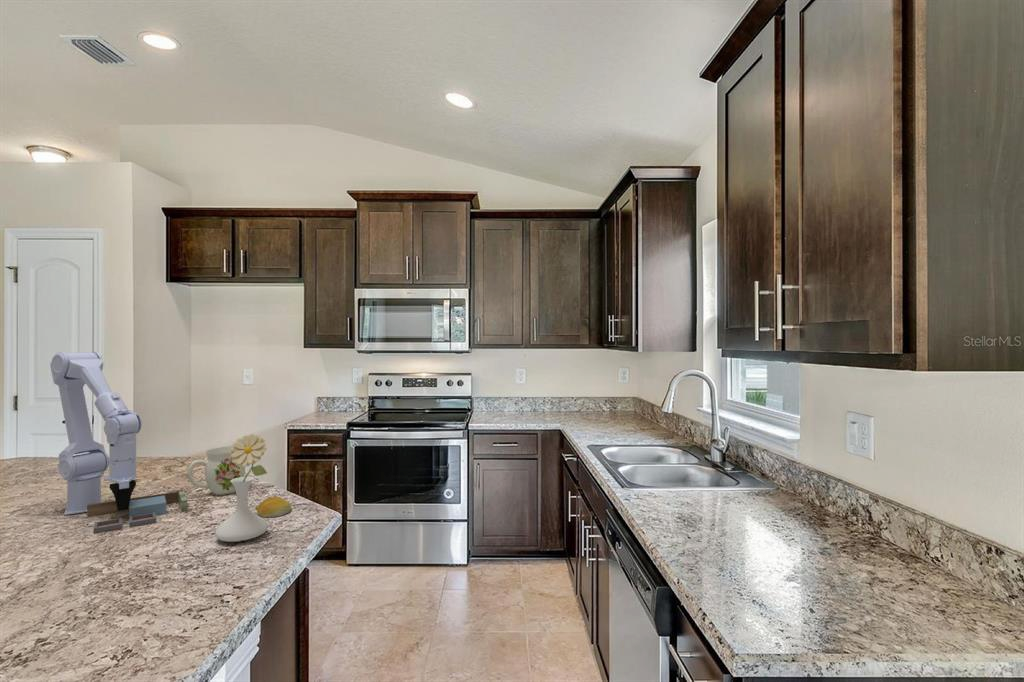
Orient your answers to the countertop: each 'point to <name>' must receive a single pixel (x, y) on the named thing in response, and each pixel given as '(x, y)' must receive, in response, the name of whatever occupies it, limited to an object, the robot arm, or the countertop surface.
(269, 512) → the bread roll
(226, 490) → the pitcher
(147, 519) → the grey double frame
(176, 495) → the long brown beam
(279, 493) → the countertop surface
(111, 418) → the robot arm
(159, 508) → the slate block
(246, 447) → the flower in vase
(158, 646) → the countertop surface
